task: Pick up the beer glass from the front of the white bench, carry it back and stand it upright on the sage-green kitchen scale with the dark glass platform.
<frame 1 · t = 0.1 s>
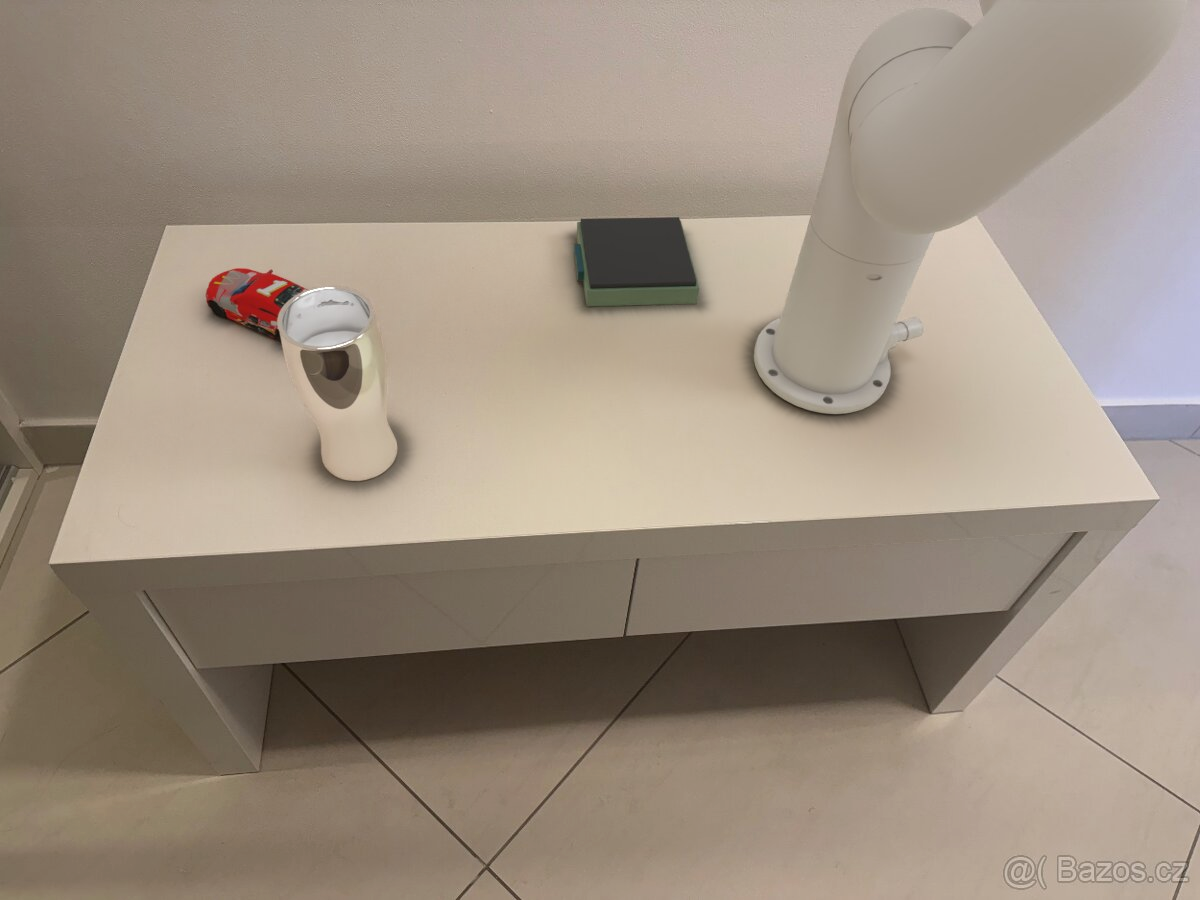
race car: (274, 318, 81), on the table
scale: (634, 269, 88), on the table
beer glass: (360, 454, 71), on the table
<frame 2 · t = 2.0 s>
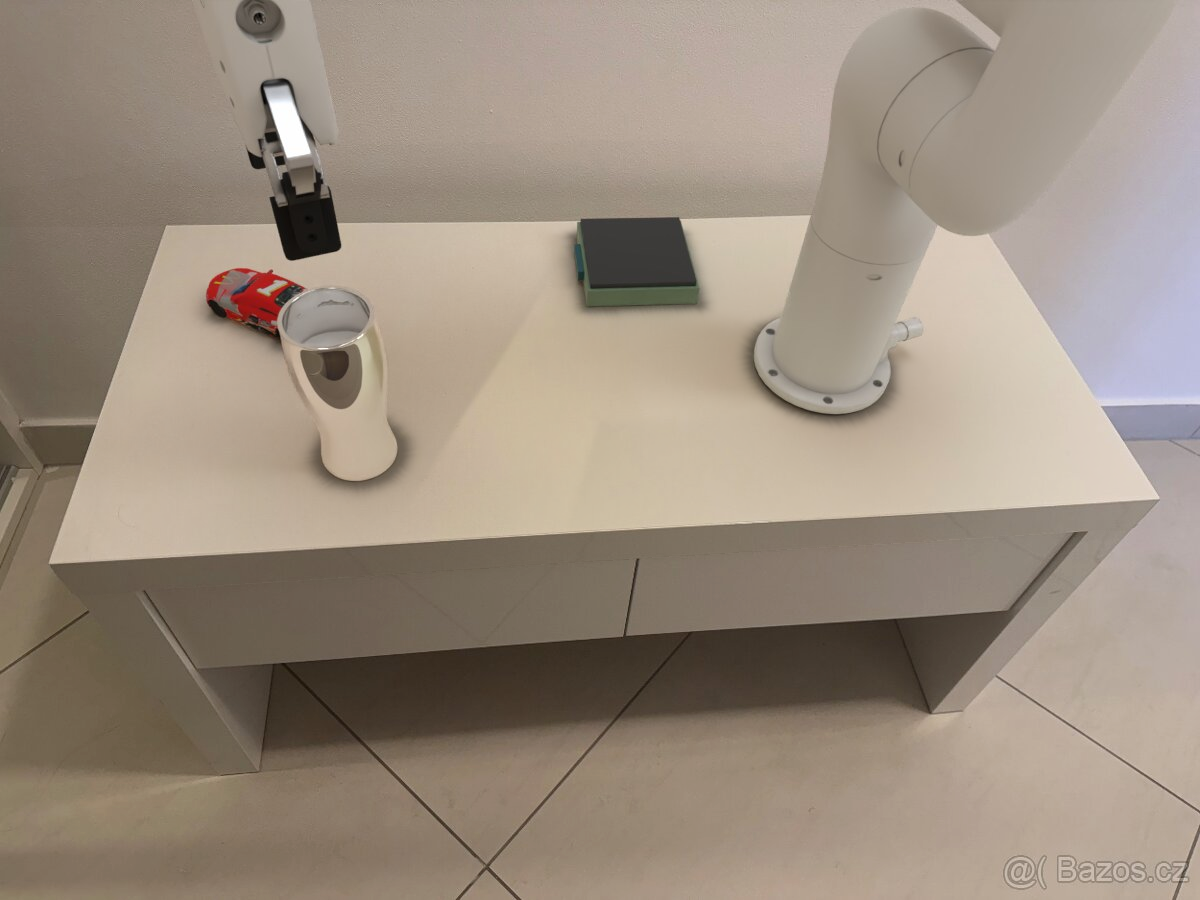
hand: (294, 206, 53), 24 cm above the table, tool pointing down, fingers open, 9 cm apart
nothing on the table moved.
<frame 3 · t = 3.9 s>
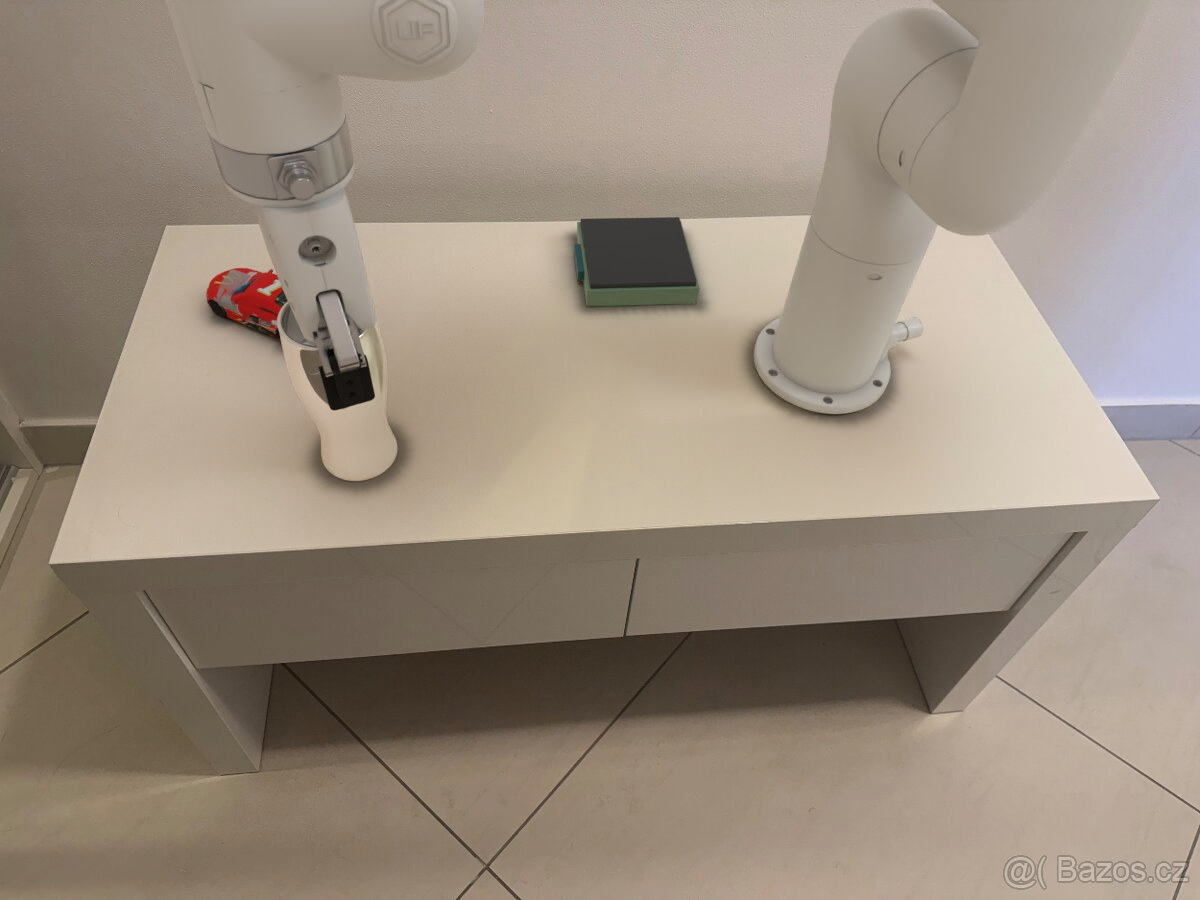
hand: (338, 365, 63), 10 cm above the table, tool pointing down, fingers closed on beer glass, 7 cm apart
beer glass: (360, 454, 71), on the table, touching gripper
everything else where it was.
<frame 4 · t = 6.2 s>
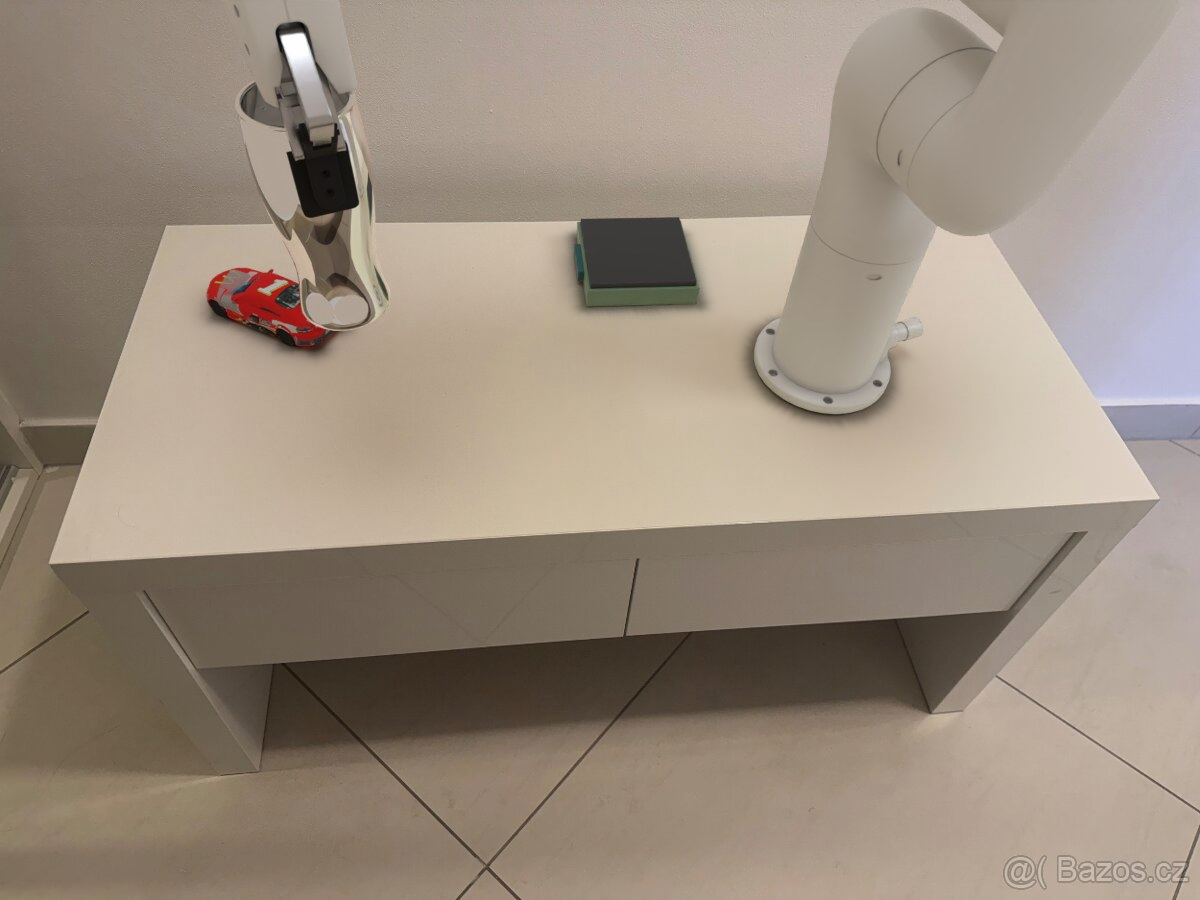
hand: (314, 172, 52), 26 cm above the table, tool pointing down, fingers closed on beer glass, 7 cm apart
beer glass: (347, 303, 60), point 15 cm above the table, touching gripper
everything else where it was.
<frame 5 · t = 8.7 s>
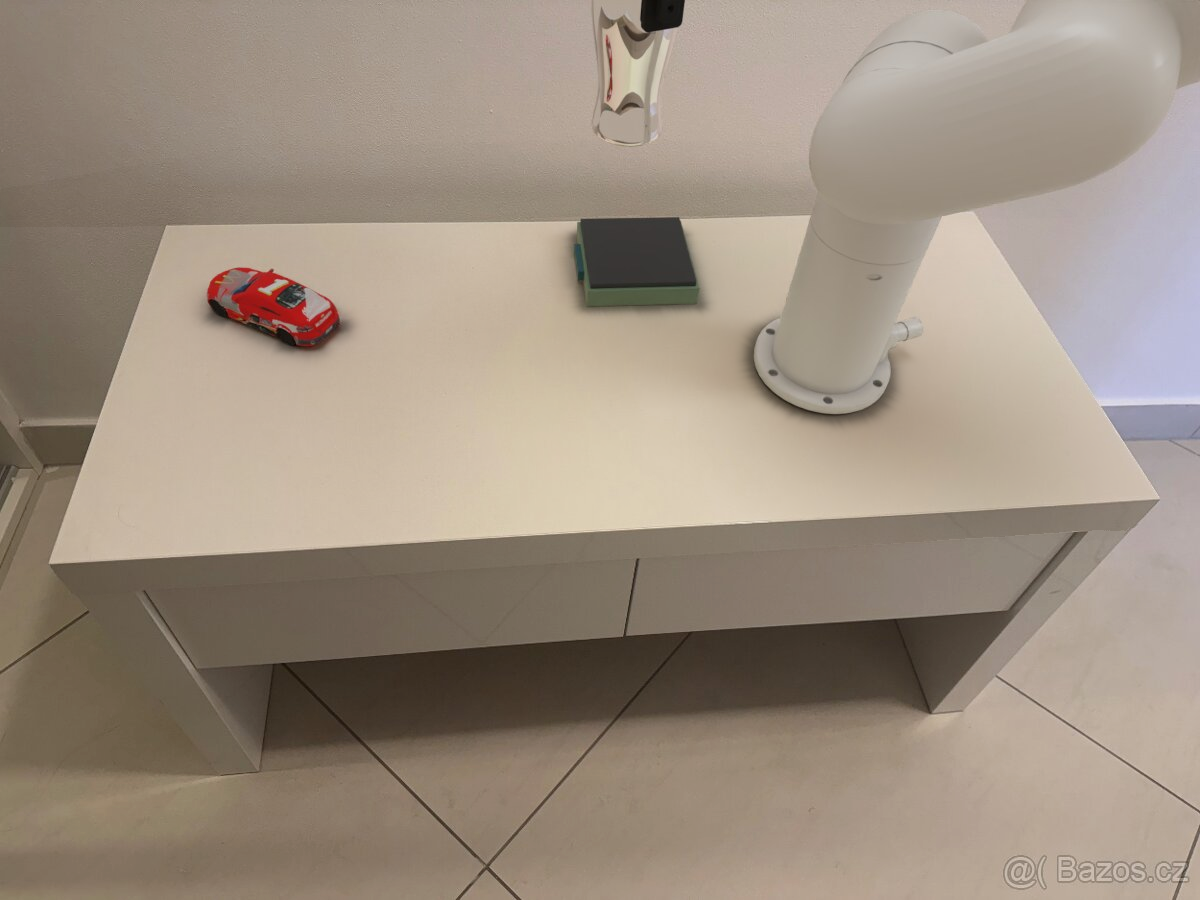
hand: (637, 4, 65), 27 cm above the table, tool pointing down, fingers closed on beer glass, 7 cm apart
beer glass: (626, 129, 73), point 17 cm above the table, touching gripper
everything else where it was.
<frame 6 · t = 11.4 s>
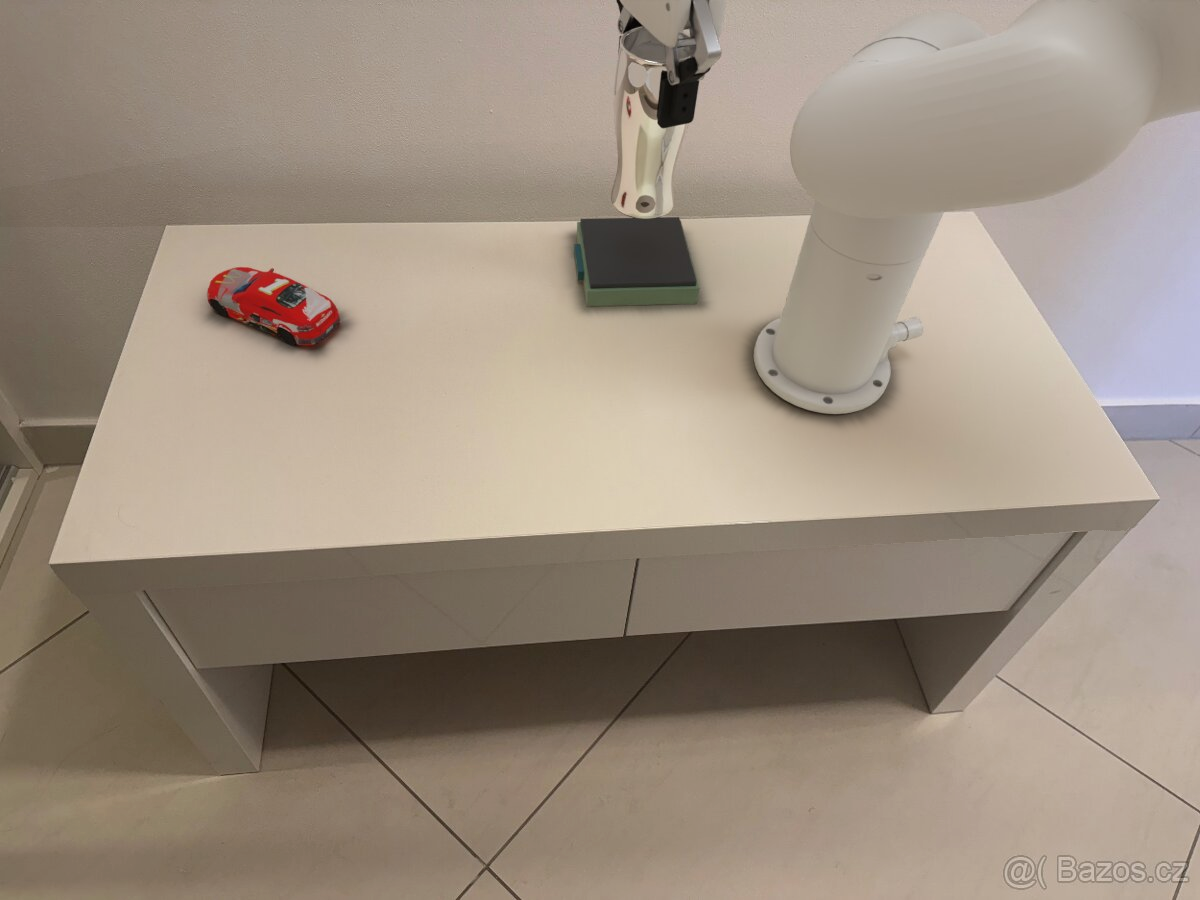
hand: (653, 99, 74), 18 cm above the table, tool pointing down, fingers closed on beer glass, 7 cm apart
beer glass: (642, 202, 82), point 8 cm above the table, touching gripper
everything else where it was.
when the fingers open (13 cm above the table, at t = 13.6 s): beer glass stays where it is, resting on scale.
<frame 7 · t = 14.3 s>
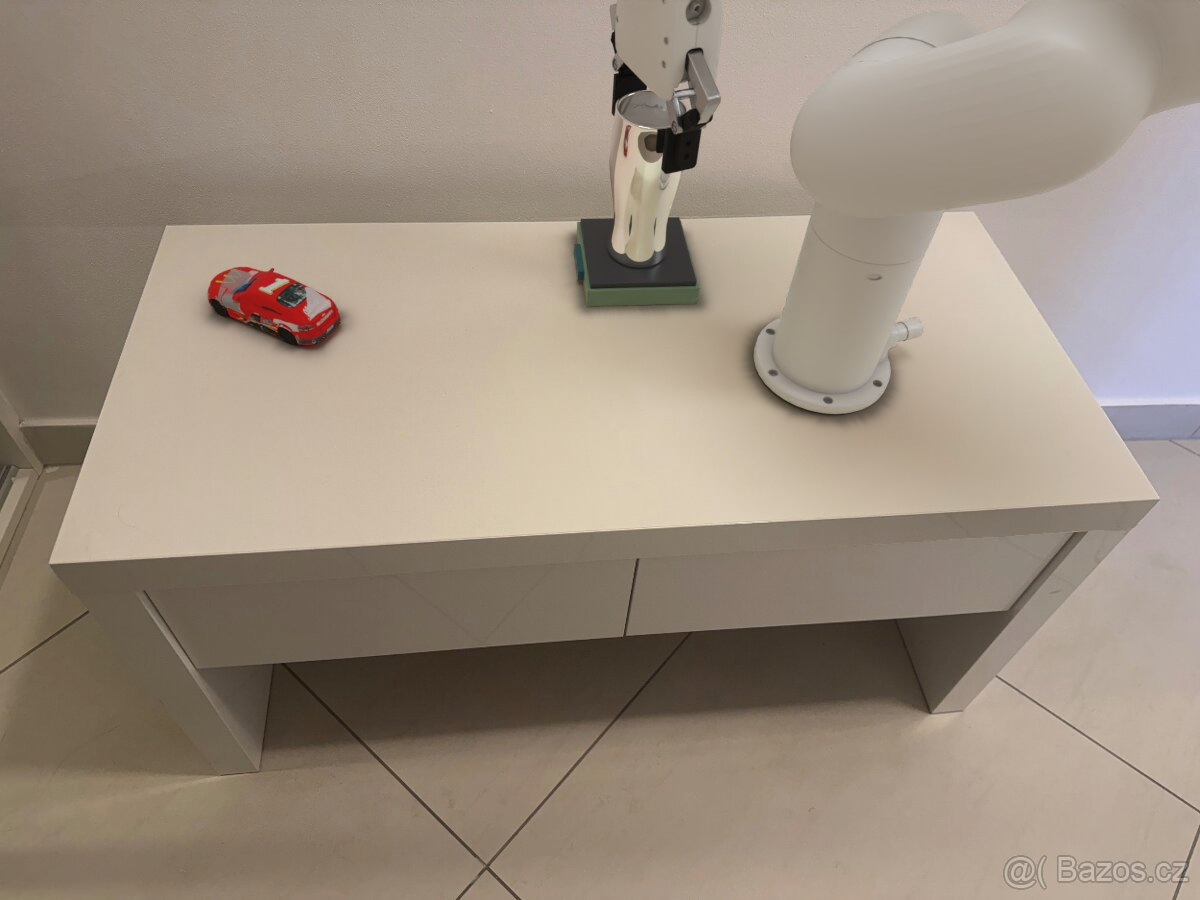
hand: (652, 140, 77), 15 cm above the table, tool pointing down, fingers open, 9 cm apart
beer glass: (636, 250, 86), point 2 cm above the table, touching scale
everything else where it was.
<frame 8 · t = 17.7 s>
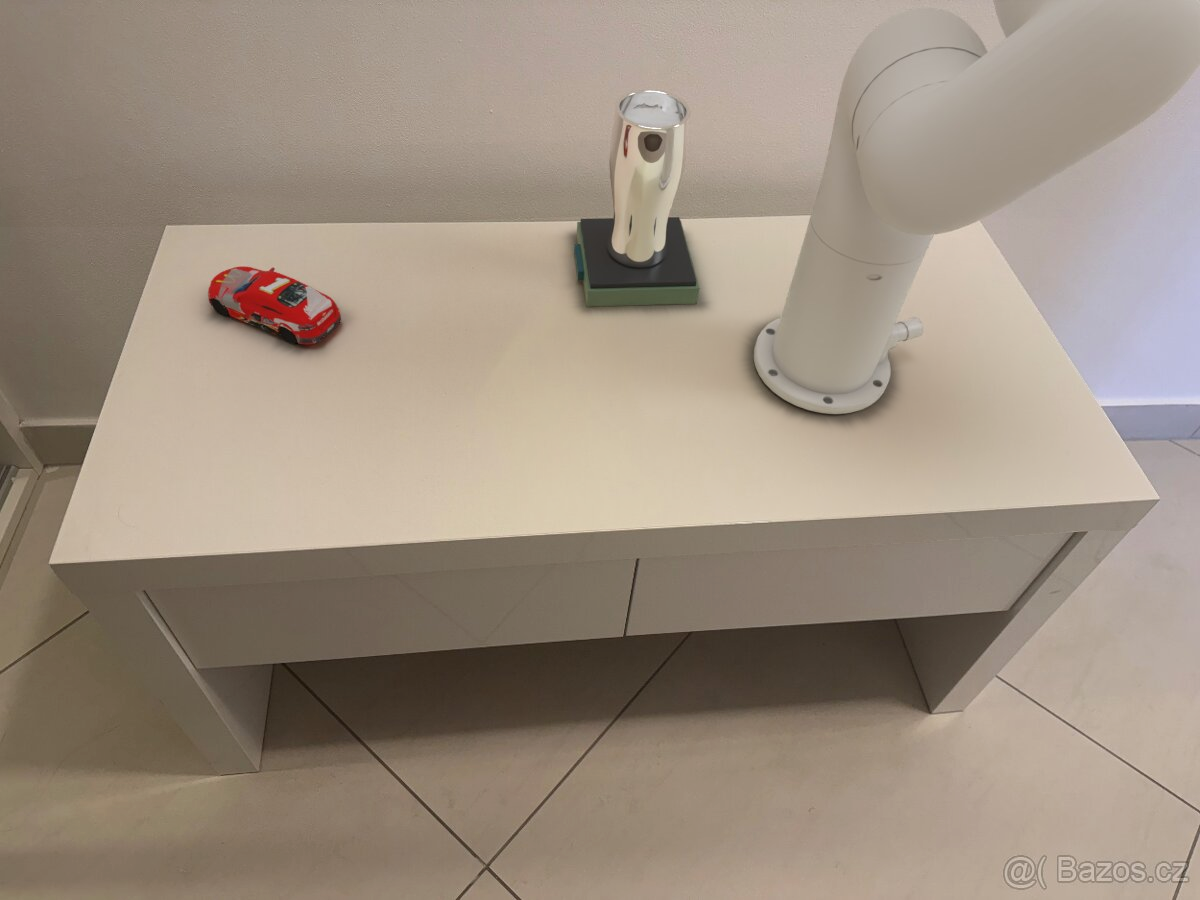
nothing on the table moved.
at the end: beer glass inside the target area on the scale (0.0 cm from its centre), point 2.4 cm above the scale's base; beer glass tilted 0°; the gripper is holding nothing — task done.
